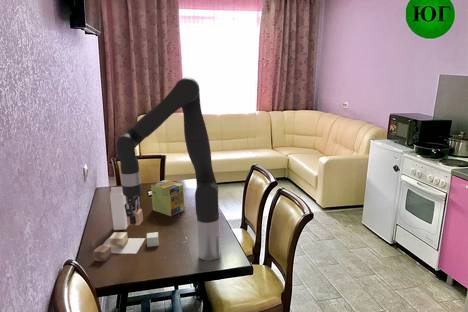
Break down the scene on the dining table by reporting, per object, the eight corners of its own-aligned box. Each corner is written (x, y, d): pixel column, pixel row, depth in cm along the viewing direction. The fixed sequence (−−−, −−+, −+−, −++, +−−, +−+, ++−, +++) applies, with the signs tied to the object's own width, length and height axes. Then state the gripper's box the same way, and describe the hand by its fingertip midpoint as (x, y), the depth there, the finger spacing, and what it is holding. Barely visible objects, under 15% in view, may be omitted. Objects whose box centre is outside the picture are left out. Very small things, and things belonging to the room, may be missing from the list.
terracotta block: (143, 220, 155) (142, 208, 153) (139, 225, 150) (138, 213, 148) (131, 220, 155) (130, 209, 154) (127, 225, 150) (126, 213, 149)
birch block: (128, 242, 169) (127, 232, 168) (123, 248, 164) (122, 238, 162) (115, 242, 170) (114, 232, 168) (110, 248, 164) (109, 238, 163)
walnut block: (111, 257, 158) (110, 246, 157) (105, 263, 153) (104, 252, 152) (101, 255, 159) (100, 245, 158) (94, 261, 155) (93, 251, 153)
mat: (145, 239, 173) (145, 238, 173) (136, 254, 159) (136, 253, 159) (108, 239, 174) (108, 238, 174) (95, 254, 160) (95, 253, 160)
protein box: (171, 216, 198) (169, 189, 194) (152, 210, 207) (150, 184, 203) (185, 210, 206) (183, 184, 202) (166, 204, 215) (164, 179, 211)
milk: (116, 225, 188) (112, 185, 183) (128, 225, 189) (124, 184, 183) (113, 231, 182) (108, 189, 177) (126, 230, 183) (121, 188, 177)
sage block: (158, 241, 171) (157, 232, 169) (158, 247, 166) (158, 236, 165) (147, 243, 170) (146, 233, 168) (147, 248, 165) (146, 238, 164)
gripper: (134, 188, 141) (138, 229, 145) (145, 177, 155) (149, 214, 159) (115, 188, 141) (120, 229, 145) (128, 177, 155) (132, 214, 159)
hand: (135, 221), depth 152 cm, fingers closed on terracotta block, 5 cm apart
